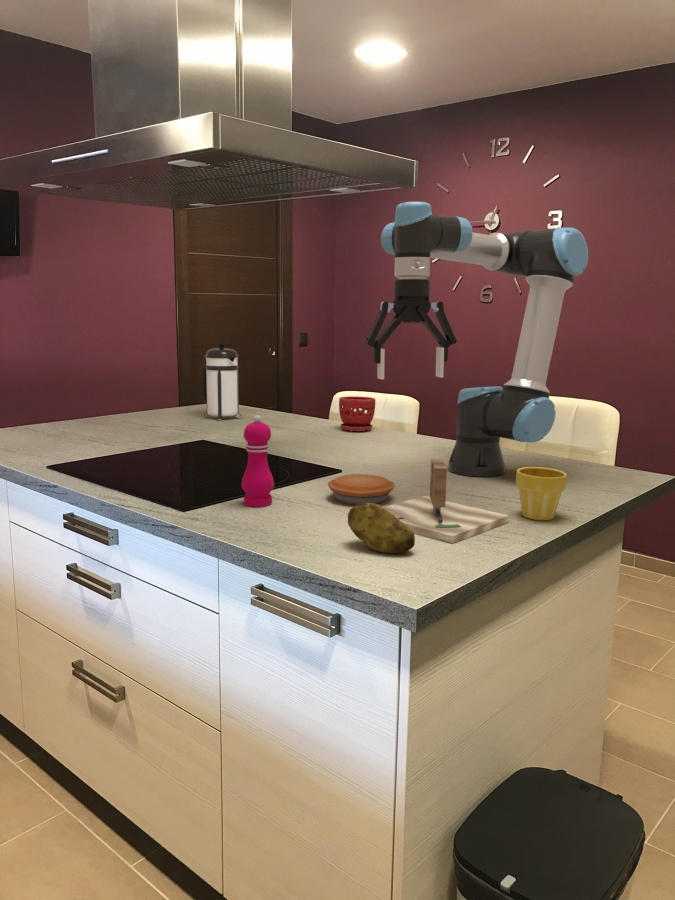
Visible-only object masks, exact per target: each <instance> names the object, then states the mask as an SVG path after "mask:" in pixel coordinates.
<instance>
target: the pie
mask: <svg viewBox="0 0 675 900" xmlns="http://www.w3.org/2000/svg"><path fill="white" fill-rule="evenodd" d="M395 485H396V484H395V482H393V481H391V480H389V479H387V478H386V477H383V476H380V475H375V474H367V473H366V474H364V473H362V474H361V473H354V474H344V475H339V476H336V477H335V478H334V479H332V480H330V481H328V482H327V486H328V488H329V490H330V491H332V494H333V496H334V497H335V498H336V500H337V501H338V502H340V503H343V504H347V505H352V506H353V505H354V506H356V505H358V504H360V503H367V502H370V503H374V504H377V505H379V504H382V503H383V502H385V501H386V499H387V498H388V496H389V494H390V493H391V492H392V491H393V490H394V488H395Z"/></svg>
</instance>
